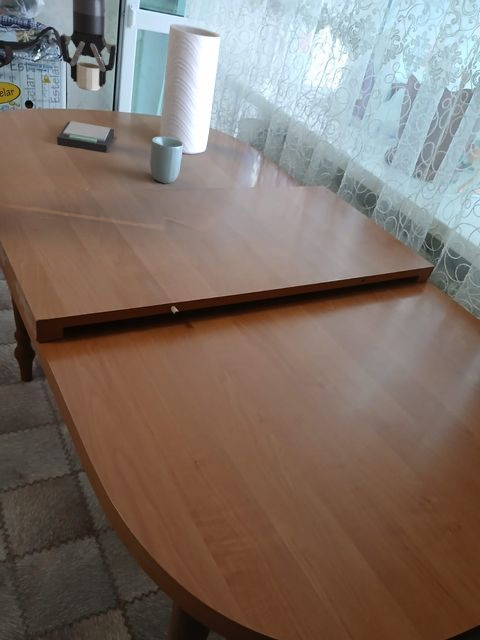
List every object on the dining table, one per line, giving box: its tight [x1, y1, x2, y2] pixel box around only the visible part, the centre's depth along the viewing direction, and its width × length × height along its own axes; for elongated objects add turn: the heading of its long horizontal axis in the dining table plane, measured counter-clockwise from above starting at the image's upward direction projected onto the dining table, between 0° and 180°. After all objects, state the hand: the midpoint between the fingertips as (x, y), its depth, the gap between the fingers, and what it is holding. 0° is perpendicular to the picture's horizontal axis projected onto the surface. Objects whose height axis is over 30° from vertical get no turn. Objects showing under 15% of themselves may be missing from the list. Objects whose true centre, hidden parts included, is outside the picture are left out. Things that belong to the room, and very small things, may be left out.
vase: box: [159, 23, 221, 155], centre depth 158 cm, size 14×14×32 cm
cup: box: [149, 135, 183, 184], centre depth 140 cm, size 8×8×10 cm
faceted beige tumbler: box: [75, 61, 101, 92], centre depth 143 cm, size 6×6×6 cm
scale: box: [56, 120, 115, 153], centre depth 154 cm, size 13×15×3 cm
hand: (88, 83), depth 144 cm, fingers closed on faceted beige tumbler, 6 cm apart
